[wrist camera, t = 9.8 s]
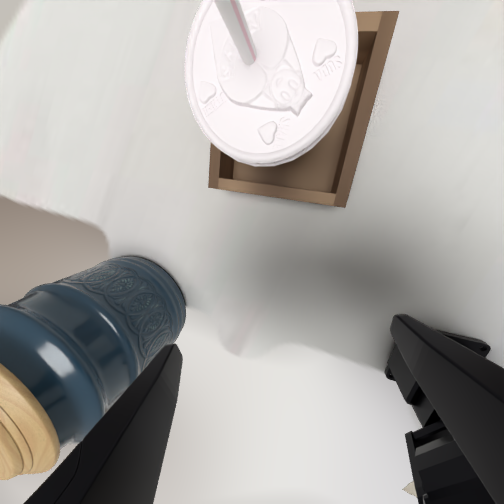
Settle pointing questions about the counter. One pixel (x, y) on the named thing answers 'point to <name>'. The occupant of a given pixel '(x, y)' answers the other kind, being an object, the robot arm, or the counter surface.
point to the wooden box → (331, 145)
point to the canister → (78, 354)
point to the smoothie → (269, 74)
